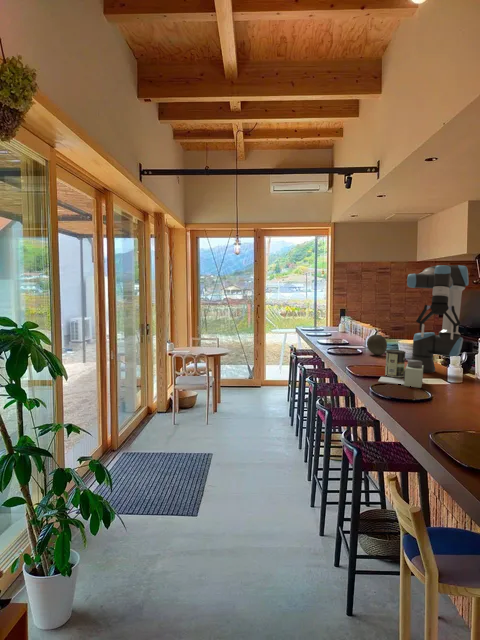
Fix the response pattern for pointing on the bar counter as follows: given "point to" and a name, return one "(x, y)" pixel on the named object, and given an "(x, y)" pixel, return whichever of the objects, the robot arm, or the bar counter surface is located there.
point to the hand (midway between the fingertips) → (436, 338)
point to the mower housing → (408, 375)
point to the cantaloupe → (377, 344)
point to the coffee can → (395, 363)
